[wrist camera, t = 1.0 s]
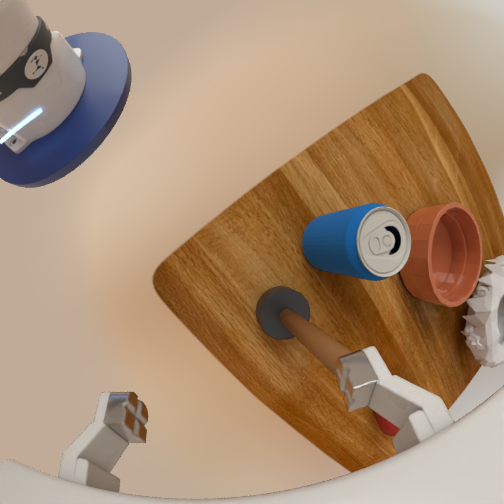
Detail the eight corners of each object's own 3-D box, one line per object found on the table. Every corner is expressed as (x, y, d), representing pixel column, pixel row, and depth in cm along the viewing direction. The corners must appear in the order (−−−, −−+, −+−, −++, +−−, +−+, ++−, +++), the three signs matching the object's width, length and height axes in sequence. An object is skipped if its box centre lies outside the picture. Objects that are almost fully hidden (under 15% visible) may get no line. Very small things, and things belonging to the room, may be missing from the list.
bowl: (452, 379, 37) (487, 397, 27) (439, 293, 35) (486, 302, 25) (501, 318, 40) (533, 325, 30) (491, 236, 38) (528, 236, 28)
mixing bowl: (383, 281, 33) (414, 287, 27) (409, 190, 34) (440, 183, 27) (438, 310, 35) (467, 317, 29) (460, 231, 36) (488, 230, 29)
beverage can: (353, 263, 32) (418, 270, 20) (305, 276, 31) (360, 292, 19) (343, 211, 32) (406, 196, 20) (294, 221, 31) (345, 207, 19)
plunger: (248, 324, 30) (312, 435, 10) (267, 278, 30) (369, 330, 11) (291, 339, 31) (390, 439, 11) (310, 296, 31) (437, 354, 11)
